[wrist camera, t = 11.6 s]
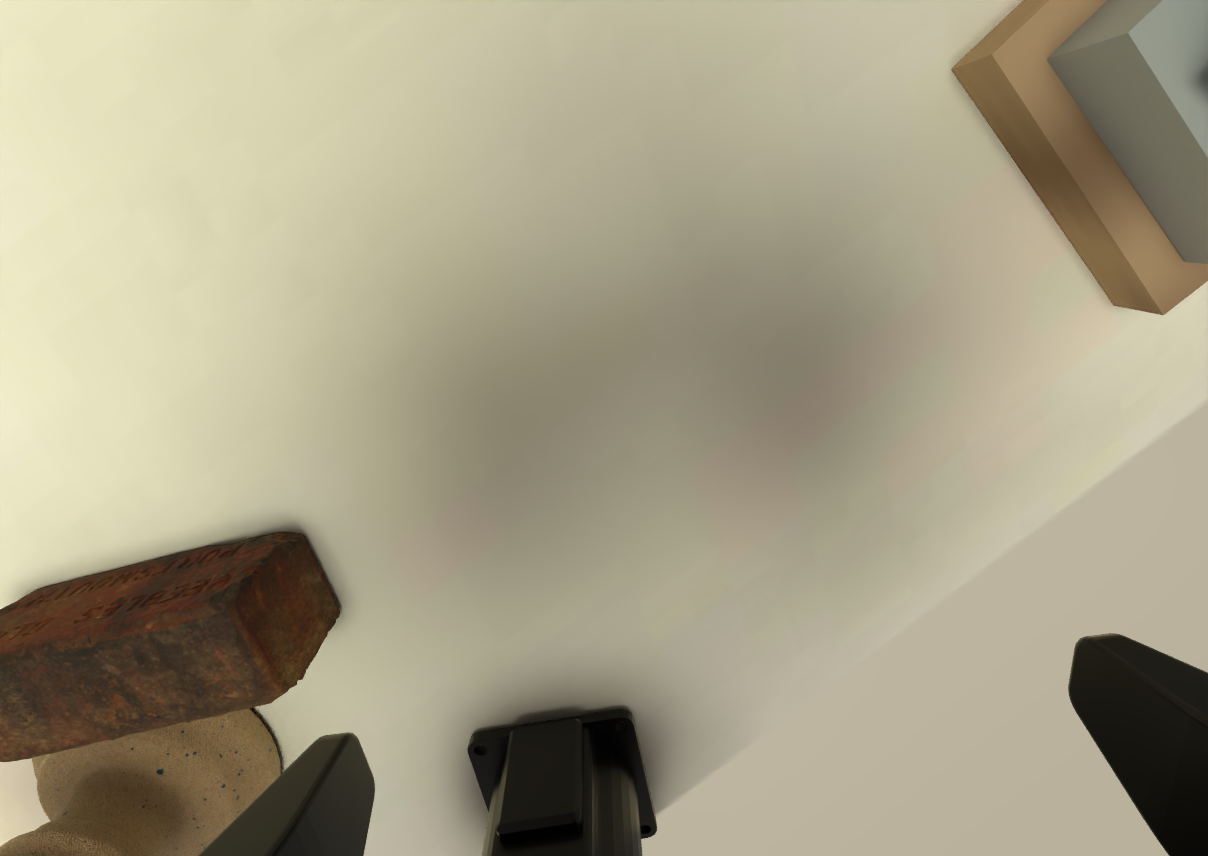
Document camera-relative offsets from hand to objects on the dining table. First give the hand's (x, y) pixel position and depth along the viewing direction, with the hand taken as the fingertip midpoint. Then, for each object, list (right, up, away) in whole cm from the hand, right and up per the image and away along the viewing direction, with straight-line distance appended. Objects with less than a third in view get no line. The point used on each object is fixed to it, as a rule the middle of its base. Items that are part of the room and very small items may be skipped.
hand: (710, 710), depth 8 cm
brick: (-16, -3, +15) cm, 22 cm away
